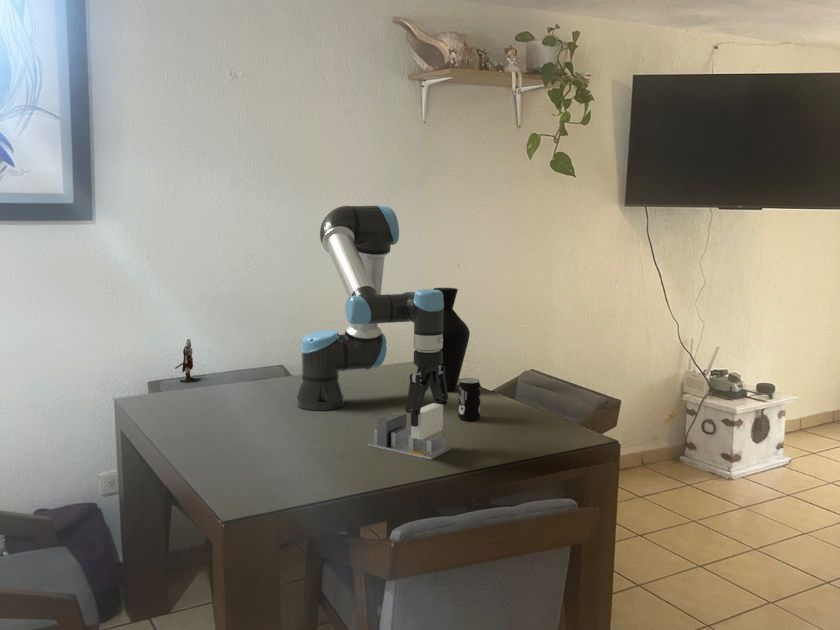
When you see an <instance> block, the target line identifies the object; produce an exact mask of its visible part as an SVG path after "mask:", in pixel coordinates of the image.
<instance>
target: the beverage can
mask: <svg viewBox="0 0 840 630" xmlns="http://www.w3.org/2000/svg"><path fill="white" fill-rule="evenodd" d="M481 387H482V386H481V383H480V379H478V378H473V377H464V378H461V379H460V381H459V383H458V404H457V405H458V406H457V407H458V410H457V415H458V418H459V419H460V421H464V422H476V421H478V420H479V419H480V417H481V393H482V391H481V389H482V388H481Z"/></svg>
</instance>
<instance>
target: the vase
mask: <svg viewBox="0 0 840 630" xmlns="http://www.w3.org/2000/svg"><path fill="white" fill-rule="evenodd" d="M433 290H439V291H441V292H442V293H443V303H444V310H443V348H442V349H440V350H442V352H443V363H442V365H440V366H445V378H446V385H447V391H448V393H452V392H455V391H456V390H457V386H458V384H459V378H460V374H461V371H462V367H463V364H464V360H465V356H466V352H467V347H468V344H469V340H470V335H471V334H470V329H469V326H467V324H466V323H465V322H464V321H463V320H462V319H461V317H460V316H459V315H458V314H457V312H456V311H455V310H454V305H455V301H456V298H457V294H458V291H459V289H458V288H456V287H434V288H433Z"/></svg>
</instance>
